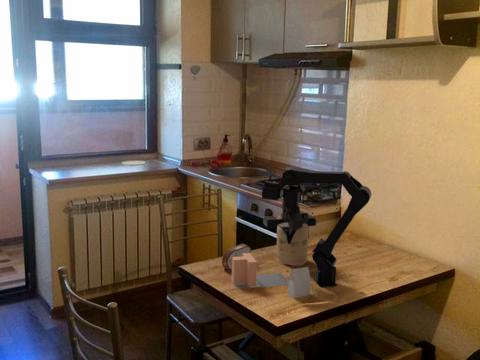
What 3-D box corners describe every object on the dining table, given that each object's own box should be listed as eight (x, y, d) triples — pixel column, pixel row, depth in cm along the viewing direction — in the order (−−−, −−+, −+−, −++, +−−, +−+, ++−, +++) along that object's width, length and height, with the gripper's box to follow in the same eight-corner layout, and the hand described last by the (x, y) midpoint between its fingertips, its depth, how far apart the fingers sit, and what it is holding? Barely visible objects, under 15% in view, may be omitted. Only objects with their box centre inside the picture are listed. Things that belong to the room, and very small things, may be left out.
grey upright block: (309, 296, 175) (311, 268, 173) (293, 300, 172) (294, 271, 170) (303, 292, 178) (305, 265, 176) (287, 295, 175) (288, 268, 173)
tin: (245, 261, 206) (246, 241, 205) (252, 263, 204) (252, 242, 203) (221, 271, 195) (221, 250, 193) (227, 273, 193) (227, 252, 191)
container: (308, 267, 201) (310, 223, 197) (276, 266, 201) (278, 222, 197) (305, 256, 213) (307, 214, 209) (275, 255, 213) (277, 213, 210)
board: (280, 274, 193) (281, 273, 193) (290, 286, 183) (290, 284, 183) (229, 278, 188) (229, 276, 188) (236, 290, 178) (236, 288, 178)
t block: (249, 276, 189) (250, 253, 187) (256, 286, 181) (257, 261, 179) (229, 277, 187) (230, 254, 186) (235, 287, 179) (236, 263, 177)
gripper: (272, 209, 175) (270, 252, 179) (323, 207, 180) (320, 249, 183) (263, 201, 186) (261, 242, 189) (311, 199, 191) (309, 239, 194)
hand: (288, 243), depth 189 cm, fingers closed
